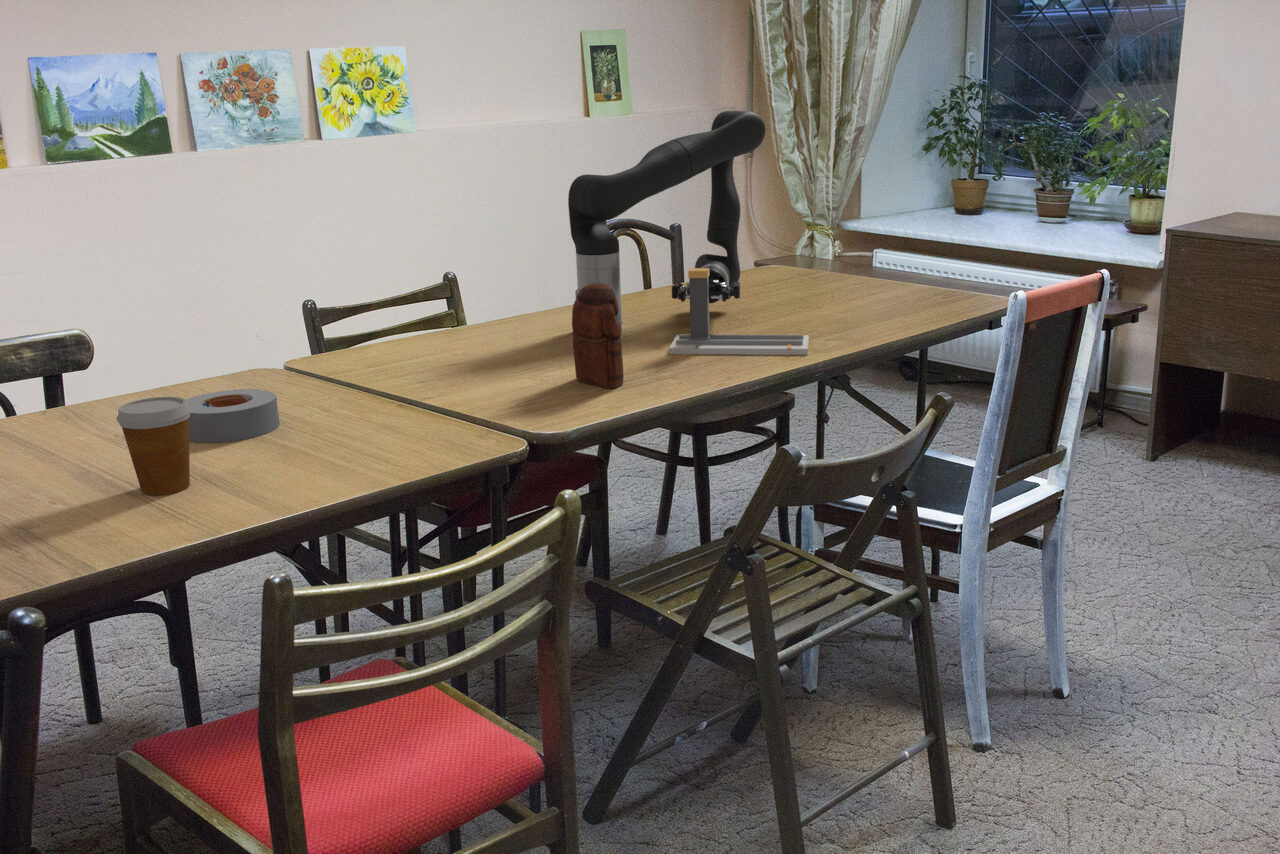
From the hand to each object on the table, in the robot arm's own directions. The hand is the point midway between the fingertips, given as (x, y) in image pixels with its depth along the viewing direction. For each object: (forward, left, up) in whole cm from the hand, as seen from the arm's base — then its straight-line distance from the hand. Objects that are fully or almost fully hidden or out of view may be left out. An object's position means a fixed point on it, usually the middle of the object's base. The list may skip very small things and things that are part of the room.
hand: (703, 296), depth 238 cm
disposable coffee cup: (-65, -95, -9) cm, 115 cm away
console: (+8, -7, -9) cm, 14 cm away
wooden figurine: (-15, -35, -9) cm, 39 cm away
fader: (0, -7, -8) cm, 10 cm away
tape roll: (-70, -67, -10) cm, 97 cm away
